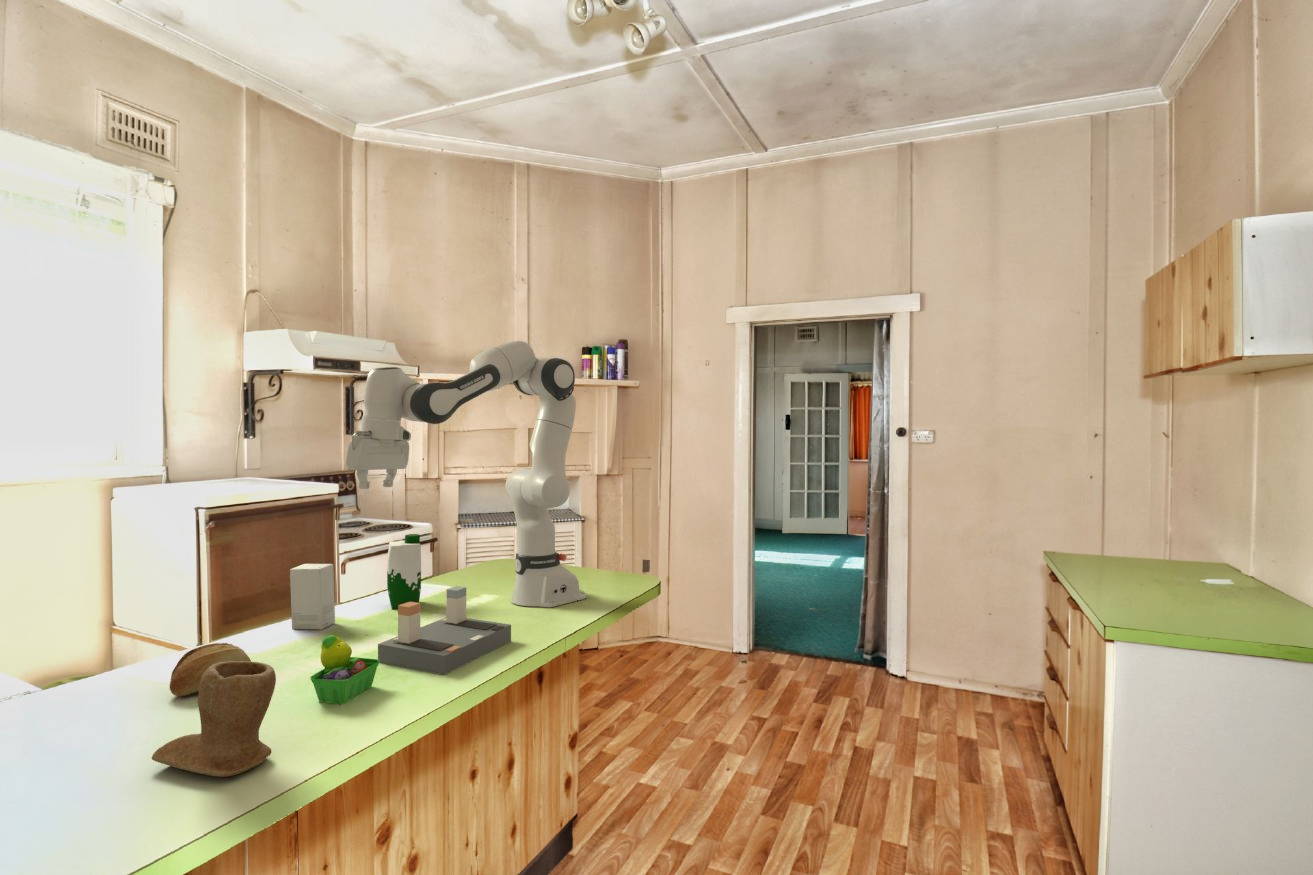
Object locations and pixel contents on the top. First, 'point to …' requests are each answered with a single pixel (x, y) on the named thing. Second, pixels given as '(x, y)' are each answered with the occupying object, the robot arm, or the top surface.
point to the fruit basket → (342, 672)
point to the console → (445, 645)
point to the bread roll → (201, 665)
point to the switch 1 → (409, 622)
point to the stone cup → (226, 721)
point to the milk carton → (404, 570)
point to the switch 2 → (456, 604)
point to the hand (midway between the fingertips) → (376, 487)
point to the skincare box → (312, 596)
